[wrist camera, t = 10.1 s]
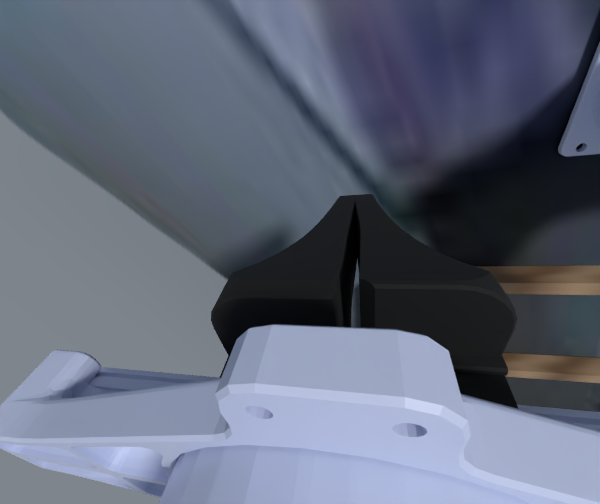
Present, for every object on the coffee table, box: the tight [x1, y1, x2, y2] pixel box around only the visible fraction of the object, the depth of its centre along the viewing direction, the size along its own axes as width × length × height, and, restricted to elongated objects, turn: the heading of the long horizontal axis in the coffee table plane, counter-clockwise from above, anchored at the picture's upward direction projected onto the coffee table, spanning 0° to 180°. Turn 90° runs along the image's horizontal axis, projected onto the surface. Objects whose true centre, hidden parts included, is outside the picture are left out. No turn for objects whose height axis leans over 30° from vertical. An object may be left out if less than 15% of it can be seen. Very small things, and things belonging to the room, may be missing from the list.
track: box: [476, 266, 600, 383], centre depth 26 cm, size 22×13×4 cm, turn 99°
